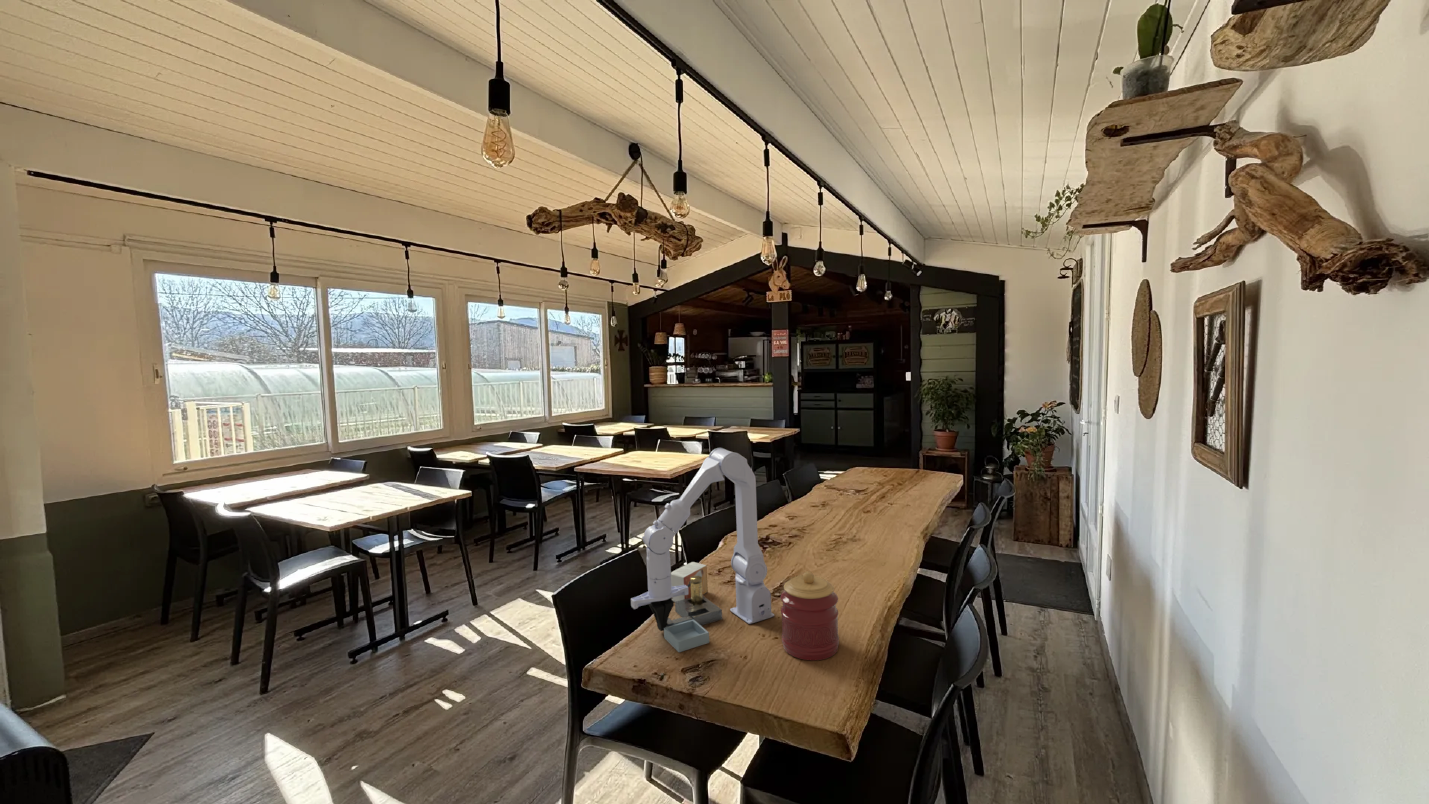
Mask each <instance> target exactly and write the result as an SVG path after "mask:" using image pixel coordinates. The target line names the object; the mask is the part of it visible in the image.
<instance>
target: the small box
mask: <svg viewBox="0 0 1429 804" xmlns="http://www.w3.org/2000/svg"><path fill="white" fill-rule="evenodd" d="M692 576H701V577H702V595H703V596H704V595H705V594H707V593H708V592H709V587H708V565H706V564H702V563H700V562H695V561H691V562H689V563H687V564H685V565H682V566H680V567H679V568H676V569H675V570H673V571H671V587H672V586H680V585H686V586H687V587H688V595H680V596H676V597H673V598H672V600H673V601H674V603H675V602H676V601H680V600H684V599H687V598H691V582H690V577H692Z"/></svg>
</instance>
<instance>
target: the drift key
mask: <svg viewBox="0 0 1429 804" xmlns="http://www.w3.org/2000/svg"><path fill="white" fill-rule="evenodd" d="M689 620H692V618H691V617H690V616H685V617H682V616H681V617H679V618H674V619H671V618H670V617H668V621H667V625H666V627H669V626H672V625H676V624H679V623H682V622H686V621H689Z"/></svg>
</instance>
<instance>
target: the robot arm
mask: <svg viewBox="0 0 1429 804" xmlns="http://www.w3.org/2000/svg"><path fill="white" fill-rule="evenodd" d="M724 476H725V477H726V478H727V479H728V480H730V481H731V482H732V483H734V492H735V516H736V517H735V518H736V520H735V521H736V543H735V545H734V547H733V555H732V556H731V560H730V566H731V569H732V570H733V571H734V572H735V577H734V578H735V599H736V600H735V602H736V603H735V604H736V606H735V607H732V608H731V607H730V609H729V611H730V612H732V613H733V614H734V615H736V617H739V618H740V619H741V620H742V621H744V622H745V623H747V624H749V625H752V624H754V623H757V622H761V621H764V620H768V619H770V618H773V617H775V614H774V613H773V612H772V593H771V591H770V590H769V588H768V587H767V586H766V585H765V582H764V580H765V579H766V576H768V575H767V574H768V566H767V564H766V562H765V560H764V559H765V558H764V554H763V551H762V549H761V547H760V546H759V541H758V540H759V539H758V535H759V534H758V510H757V508H758V507H757V505H758V504H757V484H756V482H757V481H756V480H757V479H756V476H755V473H754V471H753V470H752V468H751V467H750V465H749V464H748V459H747V458H745V456H742V455H741V454H740V453H738V452H733V451H730V450H728V449H725V448H723V447H717V448H714V449H712V451H710V453H709V455H708V456H707V457H706V458H705V459H704V460H703V461H702V464H701V467H700V468H699V470H698V471H697V472H696V474H695V475H694V477H693V478H692V480H691V481H690V483H689V484H688V486H687V487H686V489H685V490H684V492H683V493H682V495H680V497H679V498H677V499H673V500H671V501H670V503H669V502H668V503H666V504H665V505H664V508H665V509H664V511H662V513H661V514H660V516H659V517H658V518H657V520H654V521H653V522H652V525H651V526H650V525H649V526H648V527H647V528H646V529H645V530H644V534H643V536H642V542H643V543H644V544H645V546H646V576H647V590H648V591H646V592H643V593H642V594H640V595H637V596H634V597H631V598H630V606H631V608H632V609H633V610H636V609H638V608H639V607H641V606H646V605H648V606H649V608H650V610H651V612H652V614H653V616H654V618H655V622H656V625H657V629H658V630H659V631H660V632H664V628H665V627H666V625H667V621H668V618H670V614H671V611H672V610H673V608H674V606H675V602H674V601H673V600H672V598H673V597H676V596H680V595H688V587H687V586H686V585H680V586H672V587H671V572H672V570H671V569H672V567H671V555H670V553H671V551H670V549H671V548H672V547H673V544H674V537H675V536H676V534H677V533H678V532H679V530H680V529H681V528H682V526H683V525H684V524H685V523H686V521H687V520H688V518H689V517H690V516H691V507H692V506H693V505H694V503H695V502H696V501H697V500H698V499H699V498H700V496H701V495H702V494H703V493H704V491H706V490H707V488H708V487H709V486H710V485H711V484H712V483H717V482H721V481H725V478H724Z"/></svg>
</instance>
